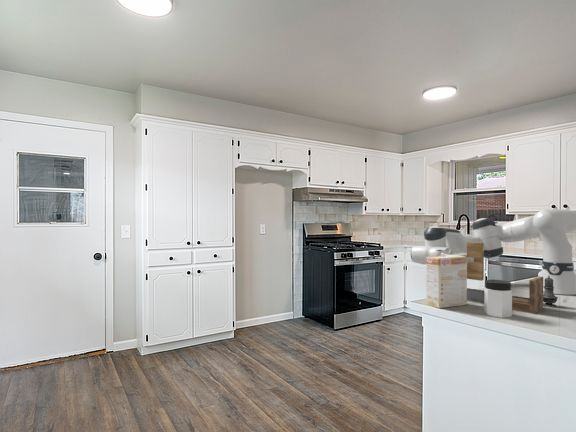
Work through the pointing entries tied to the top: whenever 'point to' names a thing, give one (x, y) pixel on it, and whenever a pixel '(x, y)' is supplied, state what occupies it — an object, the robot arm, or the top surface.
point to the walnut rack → (531, 297)
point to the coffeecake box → (446, 281)
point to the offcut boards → (520, 300)
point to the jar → (498, 298)
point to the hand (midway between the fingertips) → (476, 259)
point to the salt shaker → (549, 293)
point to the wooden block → (475, 268)
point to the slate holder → (475, 295)
